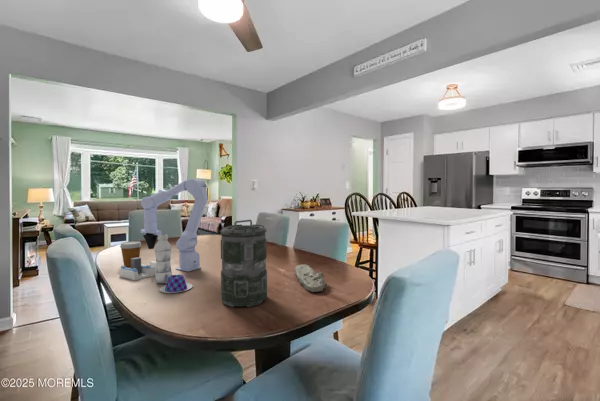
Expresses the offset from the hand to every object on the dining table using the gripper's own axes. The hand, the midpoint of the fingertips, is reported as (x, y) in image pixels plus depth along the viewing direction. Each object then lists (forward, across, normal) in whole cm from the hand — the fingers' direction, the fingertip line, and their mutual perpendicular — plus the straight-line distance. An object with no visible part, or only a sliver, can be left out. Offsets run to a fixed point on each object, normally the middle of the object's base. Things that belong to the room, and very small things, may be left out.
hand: (151, 248), depth 152 cm
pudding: (+10, +39, -14) cm, 43 cm away
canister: (+10, +70, -9) cm, 71 cm away
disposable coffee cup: (+10, -11, -4) cm, 15 cm away
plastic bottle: (+10, +28, -12) cm, 32 cm away
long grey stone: (+10, +77, +23) cm, 81 cm away
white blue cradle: (+9, +8, -8) cm, 15 cm away
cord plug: (+8, +8, -12) cm, 17 cm away
